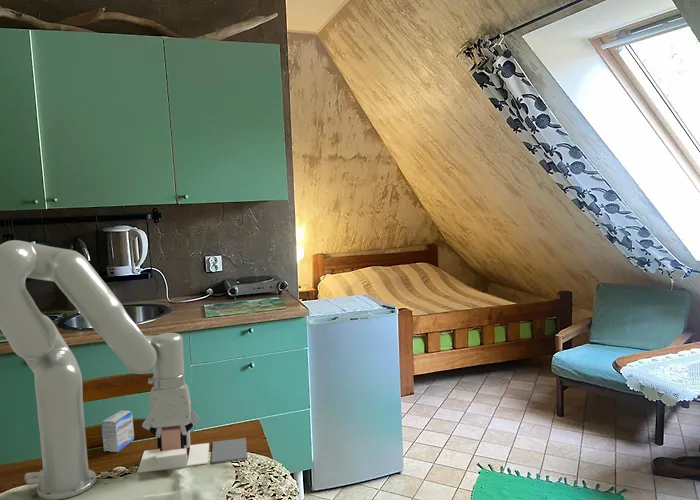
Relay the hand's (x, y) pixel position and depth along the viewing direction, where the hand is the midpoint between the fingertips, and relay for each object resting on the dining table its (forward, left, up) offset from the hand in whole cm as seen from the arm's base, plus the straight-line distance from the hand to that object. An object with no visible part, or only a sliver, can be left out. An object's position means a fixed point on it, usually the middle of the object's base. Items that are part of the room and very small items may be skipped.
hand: (172, 448), depth 144 cm
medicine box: (-16, +12, -3) cm, 20 cm away
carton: (0, 0, -3) cm, 3 cm away
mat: (+14, 0, -3) cm, 15 cm away
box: (0, 0, -2) cm, 2 cm away
